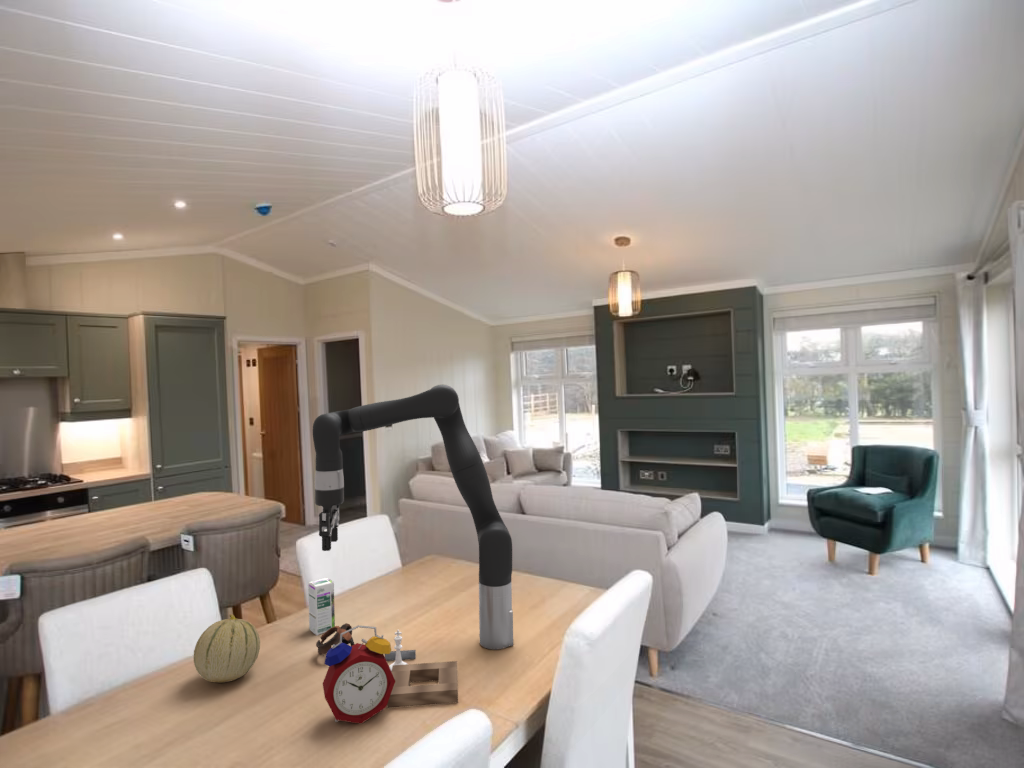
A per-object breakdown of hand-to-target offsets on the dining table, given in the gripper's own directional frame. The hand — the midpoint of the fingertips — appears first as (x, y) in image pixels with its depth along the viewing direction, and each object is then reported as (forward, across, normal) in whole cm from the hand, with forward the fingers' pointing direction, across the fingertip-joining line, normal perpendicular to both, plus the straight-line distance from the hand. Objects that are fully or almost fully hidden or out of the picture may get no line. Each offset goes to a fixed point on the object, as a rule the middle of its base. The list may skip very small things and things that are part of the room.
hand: (330, 545), depth 149 cm
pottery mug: (+30, 0, -2) cm, 30 cm away
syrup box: (+30, +15, +6) cm, 34 cm away
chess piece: (+30, -11, -19) cm, 37 cm away
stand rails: (+29, -11, -19) cm, 37 cm away
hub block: (+29, -21, -26) cm, 45 cm away
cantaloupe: (+30, -10, +23) cm, 39 cm away
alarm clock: (+30, -29, -12) cm, 43 cm away
